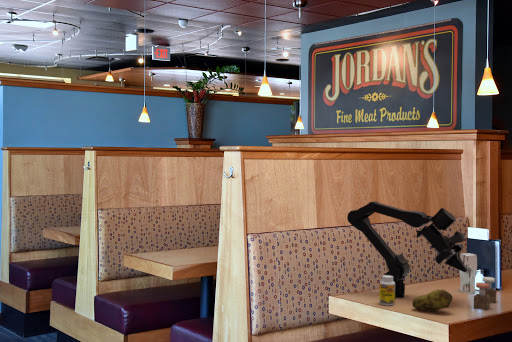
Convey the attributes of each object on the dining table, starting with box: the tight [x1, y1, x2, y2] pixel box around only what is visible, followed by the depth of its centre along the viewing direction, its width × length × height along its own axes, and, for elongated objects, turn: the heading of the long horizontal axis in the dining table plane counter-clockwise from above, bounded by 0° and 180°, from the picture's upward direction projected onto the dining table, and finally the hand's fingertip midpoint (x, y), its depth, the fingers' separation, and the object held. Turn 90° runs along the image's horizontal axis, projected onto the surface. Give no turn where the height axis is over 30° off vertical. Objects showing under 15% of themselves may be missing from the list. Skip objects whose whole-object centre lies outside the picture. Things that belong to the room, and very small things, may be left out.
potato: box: [412, 289, 453, 312], centre depth 217 cm, size 8×13×8 cm, turn 47°
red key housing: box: [473, 293, 491, 311], centre depth 223 cm, size 5×5×4 cm
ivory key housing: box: [485, 287, 497, 304], centre depth 234 cm, size 5×5×4 cm
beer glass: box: [458, 252, 478, 294], centre depth 251 cm, size 7×7×15 cm
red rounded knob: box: [475, 282, 489, 297], centre depth 223 cm, size 4×4×5 cm
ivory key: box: [482, 276, 496, 290], centre depth 234 cm, size 4×4×5 cm
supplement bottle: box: [378, 274, 396, 306], centre depth 227 cm, size 6×6×10 cm
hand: (466, 271), depth 226 cm, fingers closed
